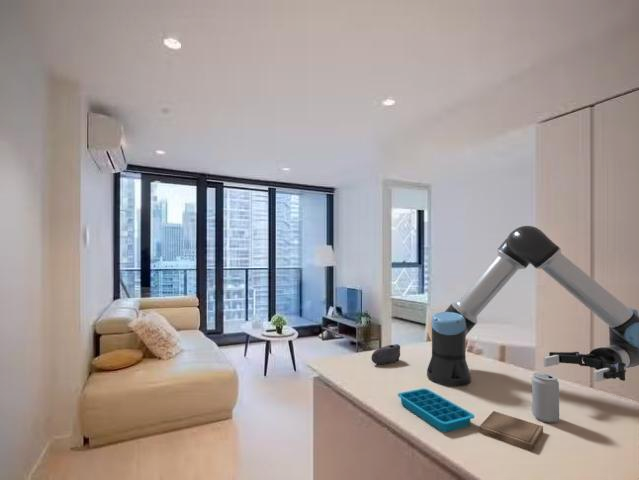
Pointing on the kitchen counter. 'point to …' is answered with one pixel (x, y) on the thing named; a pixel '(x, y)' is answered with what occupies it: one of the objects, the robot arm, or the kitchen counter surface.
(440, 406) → the ice cube tray
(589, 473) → the kitchen counter surface
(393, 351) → the perforated stone tool
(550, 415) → the beverage can
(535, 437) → the walnut block
